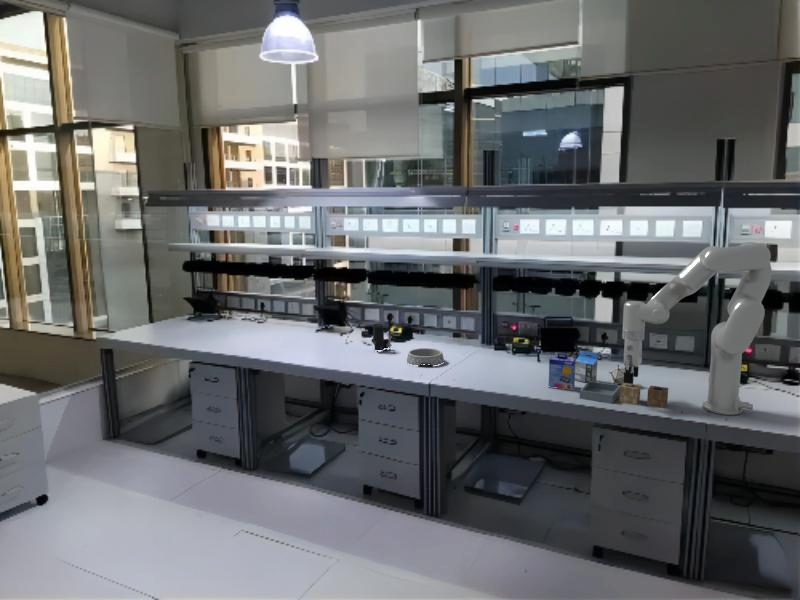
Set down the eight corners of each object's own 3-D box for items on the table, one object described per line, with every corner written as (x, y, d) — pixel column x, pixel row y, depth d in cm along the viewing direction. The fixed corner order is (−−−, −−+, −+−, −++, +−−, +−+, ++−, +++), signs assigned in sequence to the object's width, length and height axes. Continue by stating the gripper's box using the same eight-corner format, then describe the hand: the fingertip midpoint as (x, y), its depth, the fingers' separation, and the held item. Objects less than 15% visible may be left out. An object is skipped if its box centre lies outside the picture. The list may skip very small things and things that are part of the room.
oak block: (639, 400, 219) (640, 384, 218) (636, 404, 214) (637, 389, 213) (622, 397, 222) (623, 382, 221) (619, 402, 217) (620, 386, 216)
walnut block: (667, 403, 215) (668, 387, 214) (664, 408, 210) (665, 392, 209) (649, 400, 218) (650, 385, 217) (647, 405, 213) (647, 389, 212)
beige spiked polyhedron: (616, 392, 240) (609, 369, 244) (637, 387, 236) (630, 364, 241) (611, 387, 233) (605, 364, 237) (633, 381, 229) (626, 358, 234)
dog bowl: (445, 367, 267) (445, 356, 266) (405, 368, 267) (405, 356, 267) (443, 358, 284) (443, 347, 283) (406, 358, 284) (406, 347, 283)
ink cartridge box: (547, 388, 235) (548, 353, 232) (549, 384, 240) (550, 350, 237) (573, 390, 231) (574, 355, 229) (574, 386, 236) (576, 352, 234)
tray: (620, 393, 227) (620, 385, 227) (612, 403, 215) (612, 395, 215) (589, 388, 233) (589, 381, 233) (579, 398, 222) (579, 390, 221)
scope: (391, 323, 298) (380, 327, 290) (391, 349, 301) (381, 354, 292) (378, 322, 303) (367, 325, 294) (378, 348, 305) (367, 352, 296)
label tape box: (572, 380, 245) (573, 351, 243) (578, 378, 248) (579, 350, 246) (591, 384, 238) (592, 355, 237) (596, 382, 241) (598, 353, 239)
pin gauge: (632, 400, 218) (634, 369, 216) (631, 402, 216) (633, 371, 215) (627, 399, 219) (628, 369, 217) (626, 401, 218) (627, 370, 216)
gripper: (639, 340, 205) (637, 387, 207) (648, 331, 219) (645, 375, 222) (617, 338, 209) (615, 384, 211) (627, 329, 223) (625, 372, 226)
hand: (630, 379), depth 217 cm, fingers open, 9 cm apart
